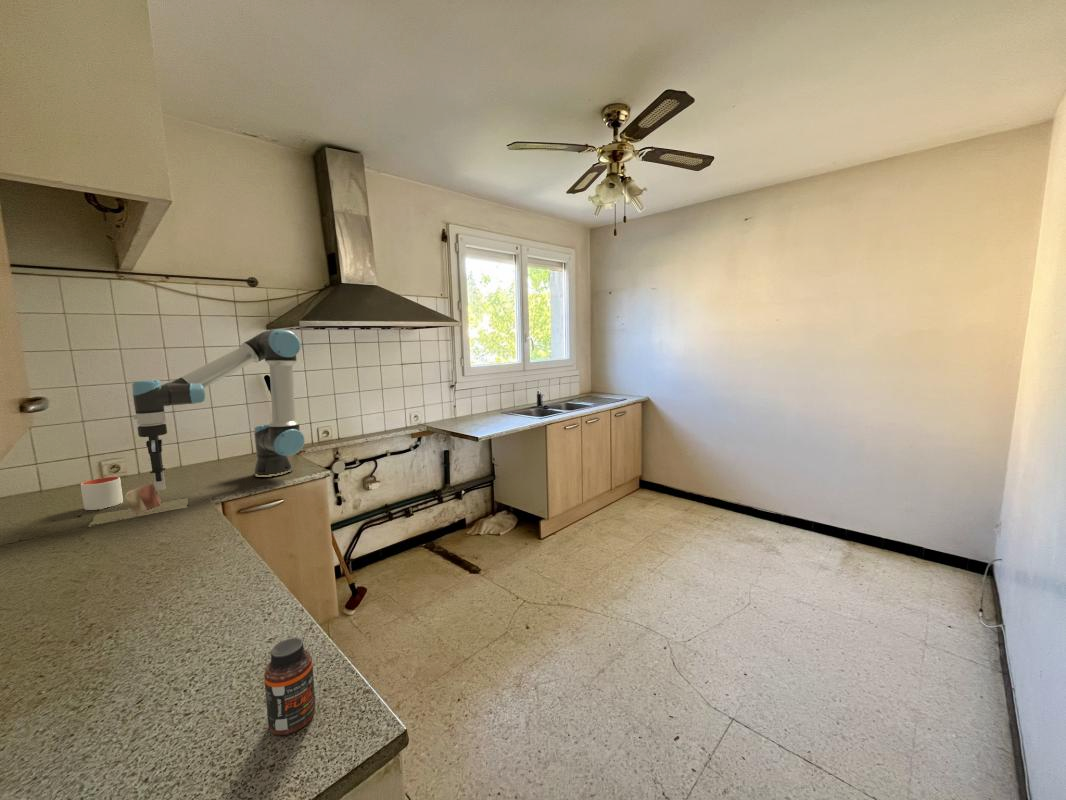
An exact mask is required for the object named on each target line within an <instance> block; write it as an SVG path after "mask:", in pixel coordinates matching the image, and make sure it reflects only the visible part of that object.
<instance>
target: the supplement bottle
mask: <svg viewBox="0 0 1066 800" xmlns="http://www.w3.org/2000/svg"><path fill="white" fill-rule="evenodd" d="M313 667H314V666H313V658H312V655H311V653H310V652H309V651H308V650H307V649H305V647H304V641H303V639H302V638H300V637H291V638H290V637H289V638H285V639H284V640H282V641H279V642H278V643H276V644H275V645H274V646H273V647H272V648H271V651H270V661H269V663H268V664H267V665H266V666H265V669H264V674H263V675H264V676H263V677H264V688H265V703H266V713H267V716H266V717H267V723H268V729H269V731H270V732H271V733H272V734H273V735H276V736H287V735H290V734H293V733H295V732H297V731H300V730H301V729H303V727H305V726H306V725H307V724H308V723H309V722H310V721H311V719H312V718H313V717H314V715H315V712H316V694H315V679H314V668H313Z"/></svg>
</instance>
